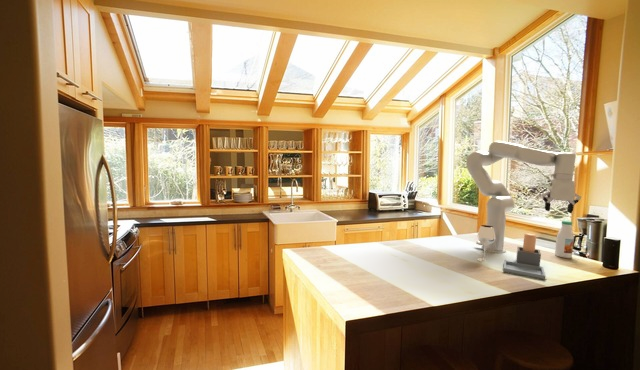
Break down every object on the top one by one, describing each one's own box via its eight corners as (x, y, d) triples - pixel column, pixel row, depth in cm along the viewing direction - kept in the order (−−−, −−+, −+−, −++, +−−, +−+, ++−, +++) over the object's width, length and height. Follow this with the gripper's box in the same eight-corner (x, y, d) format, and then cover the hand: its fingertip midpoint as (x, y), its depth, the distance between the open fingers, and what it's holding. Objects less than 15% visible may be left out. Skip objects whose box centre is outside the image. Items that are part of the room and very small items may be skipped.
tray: (503, 272, 150) (503, 267, 150) (504, 264, 162) (504, 260, 162) (545, 280, 142) (545, 275, 142) (542, 271, 154) (543, 267, 154)
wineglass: (492, 259, 169) (495, 225, 167) (493, 264, 161) (496, 228, 160) (475, 257, 172) (478, 223, 171) (475, 261, 165) (478, 226, 163)
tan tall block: (521, 264, 162) (524, 234, 161) (521, 261, 166) (524, 232, 165) (533, 266, 160) (536, 236, 158) (533, 263, 164) (536, 234, 162)
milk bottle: (557, 257, 180) (560, 221, 178) (552, 253, 187) (556, 219, 185) (573, 259, 177) (578, 223, 175) (569, 255, 184) (573, 220, 182)
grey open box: (516, 265, 161) (517, 250, 161) (516, 260, 170) (517, 246, 169) (539, 269, 156) (540, 254, 156) (538, 264, 165) (539, 249, 164)
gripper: (546, 176, 158) (542, 211, 160) (587, 179, 154) (582, 214, 156) (540, 175, 165) (535, 208, 167) (579, 178, 161) (574, 212, 163)
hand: (558, 211), depth 161 cm, fingers open, 9 cm apart
